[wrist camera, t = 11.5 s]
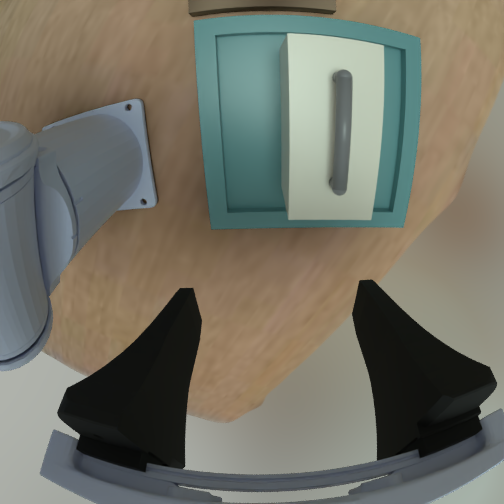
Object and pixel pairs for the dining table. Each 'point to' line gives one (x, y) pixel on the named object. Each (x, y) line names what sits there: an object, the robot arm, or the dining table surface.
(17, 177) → the robot arm
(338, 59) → the white block with handle
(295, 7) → the brown flat rectangular frame
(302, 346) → the dining table surface
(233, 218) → the tray
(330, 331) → the dining table surface
